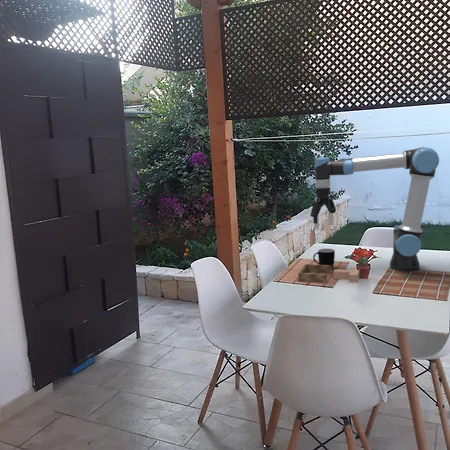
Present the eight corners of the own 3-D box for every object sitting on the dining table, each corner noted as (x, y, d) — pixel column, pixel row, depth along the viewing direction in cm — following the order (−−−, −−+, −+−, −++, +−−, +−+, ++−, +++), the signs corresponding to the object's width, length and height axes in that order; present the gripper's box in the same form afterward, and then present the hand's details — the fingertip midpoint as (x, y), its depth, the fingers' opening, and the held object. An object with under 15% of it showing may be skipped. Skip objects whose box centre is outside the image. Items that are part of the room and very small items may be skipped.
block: (359, 275, 242) (359, 268, 242) (357, 282, 231) (357, 274, 231) (335, 274, 247) (335, 267, 246) (332, 281, 235) (332, 273, 235)
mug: (336, 266, 261) (336, 249, 260) (332, 270, 254) (332, 252, 252) (316, 264, 267) (315, 247, 265) (311, 268, 259) (310, 251, 258)
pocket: (331, 272, 250) (331, 265, 250) (326, 282, 233) (326, 275, 233) (305, 271, 255) (305, 264, 255) (298, 281, 238) (298, 273, 238)
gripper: (329, 184, 255) (330, 222, 259) (302, 189, 238) (304, 230, 242) (342, 184, 250) (342, 223, 253) (315, 190, 233) (316, 231, 236)
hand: (324, 227), depth 247 cm, fingers open, 13 cm apart
